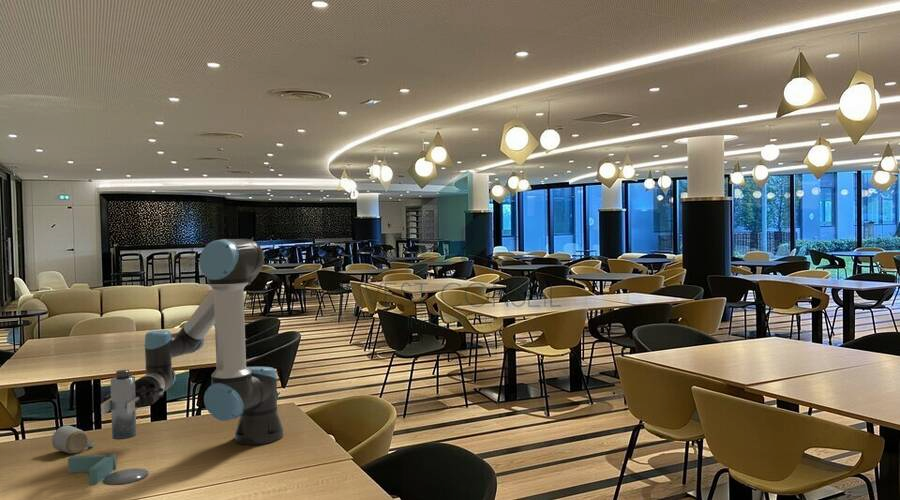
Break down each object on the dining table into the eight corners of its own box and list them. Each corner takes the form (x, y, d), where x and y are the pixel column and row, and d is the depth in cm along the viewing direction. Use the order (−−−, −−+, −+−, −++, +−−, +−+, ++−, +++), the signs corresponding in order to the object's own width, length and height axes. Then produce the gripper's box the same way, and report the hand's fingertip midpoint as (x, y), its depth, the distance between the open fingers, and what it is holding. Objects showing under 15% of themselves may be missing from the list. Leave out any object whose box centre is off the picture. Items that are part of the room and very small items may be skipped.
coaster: (154, 468, 186) (154, 467, 186) (139, 483, 175) (139, 482, 175) (114, 470, 185) (113, 469, 185) (96, 485, 174) (96, 484, 174)
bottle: (139, 432, 183) (138, 368, 182) (131, 439, 177) (129, 372, 176) (117, 433, 182) (115, 369, 182) (108, 440, 176) (106, 373, 176)
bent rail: (117, 467, 188) (116, 453, 188) (98, 483, 175) (97, 468, 175) (72, 469, 187) (71, 455, 186) (50, 486, 174) (49, 471, 174)
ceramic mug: (66, 457, 197) (66, 432, 197) (51, 453, 201) (51, 428, 201) (100, 447, 206) (100, 423, 206) (85, 444, 210) (84, 420, 210)
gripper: (180, 399, 198) (152, 421, 175) (115, 401, 197) (78, 424, 174) (179, 374, 198) (152, 393, 175) (114, 376, 196) (77, 396, 173)
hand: (115, 408), depth 174 cm, fingers closed on bottle, 6 cm apart
